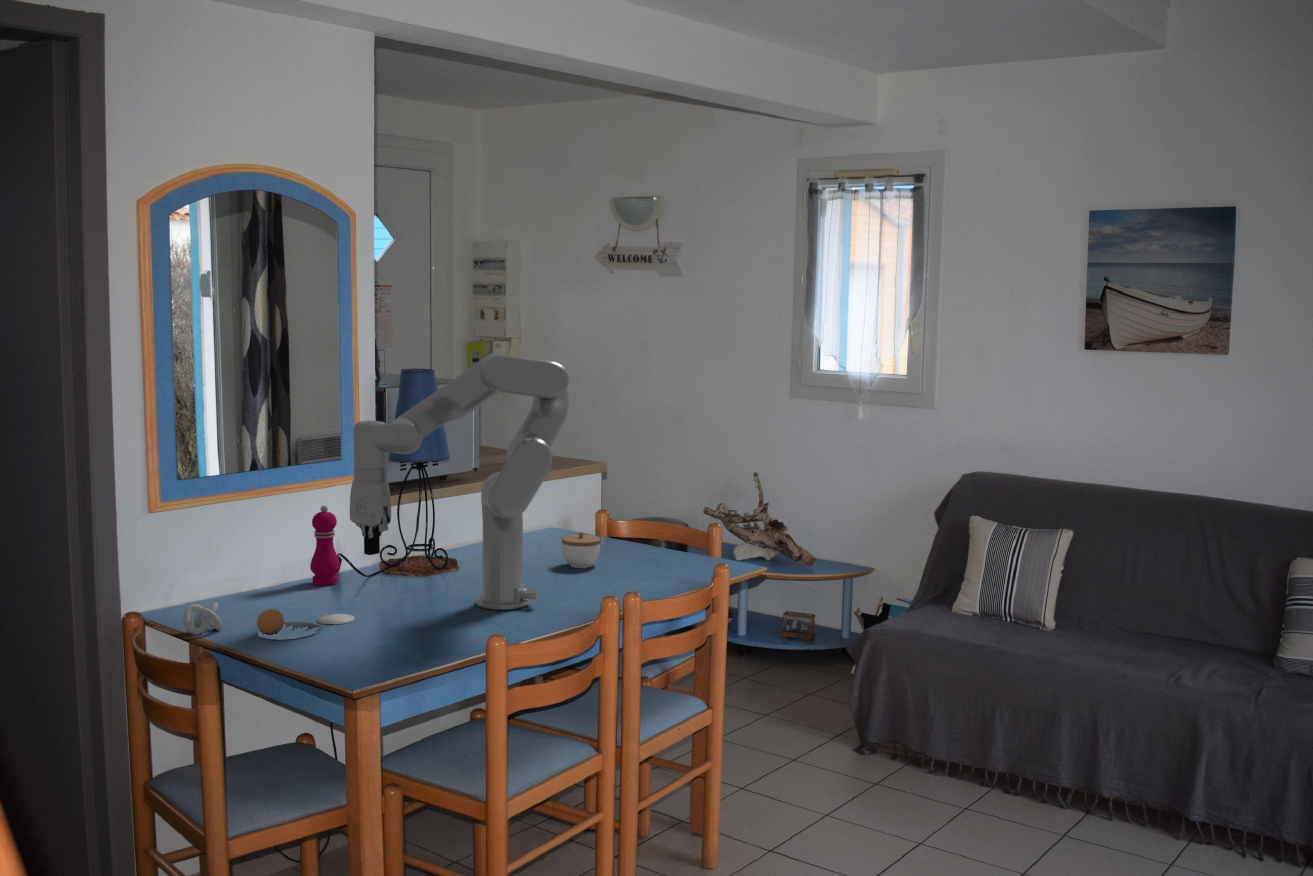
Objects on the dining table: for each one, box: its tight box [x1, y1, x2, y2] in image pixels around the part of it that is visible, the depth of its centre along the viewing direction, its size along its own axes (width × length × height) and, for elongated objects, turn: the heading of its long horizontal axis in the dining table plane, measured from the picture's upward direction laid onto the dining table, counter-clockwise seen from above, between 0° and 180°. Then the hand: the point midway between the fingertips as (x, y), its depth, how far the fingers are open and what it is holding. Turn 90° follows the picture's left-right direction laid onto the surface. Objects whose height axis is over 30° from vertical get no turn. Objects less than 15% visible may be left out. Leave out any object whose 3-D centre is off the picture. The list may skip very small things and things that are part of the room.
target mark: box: [284, 621, 321, 632], centre depth 235 cm, size 13×13×1 cm
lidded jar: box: [561, 531, 602, 569], centre depth 300 cm, size 11×11×9 cm
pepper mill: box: [309, 505, 341, 587], centre depth 275 cm, size 7×7×20 cm
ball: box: [256, 608, 285, 635], centre depth 232 cm, size 6×6×6 cm
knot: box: [182, 601, 223, 634], centre depth 234 cm, size 8×8×6 cm
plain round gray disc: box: [316, 613, 355, 625], centre depth 244 cm, size 8×8×1 cm
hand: (371, 553), depth 250 cm, fingers closed
